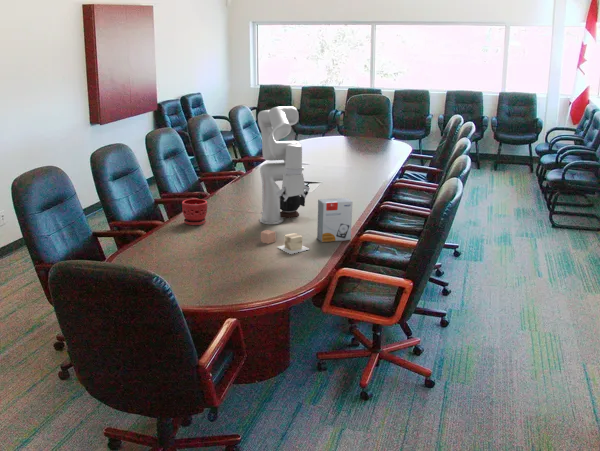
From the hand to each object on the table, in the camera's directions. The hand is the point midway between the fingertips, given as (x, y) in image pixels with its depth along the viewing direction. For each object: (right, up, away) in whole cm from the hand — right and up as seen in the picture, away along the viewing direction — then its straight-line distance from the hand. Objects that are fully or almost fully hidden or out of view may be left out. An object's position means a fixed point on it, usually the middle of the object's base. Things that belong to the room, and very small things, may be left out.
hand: (293, 207), depth 304 cm
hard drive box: (+20, -15, +20) cm, 32 cm away
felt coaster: (0, -19, +6) cm, 20 cm away
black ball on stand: (-3, -3, +58) cm, 58 cm away
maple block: (0, -19, +5) cm, 20 cm away
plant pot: (-52, -7, +44) cm, 69 cm away
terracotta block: (-12, -16, +16) cm, 26 cm away
